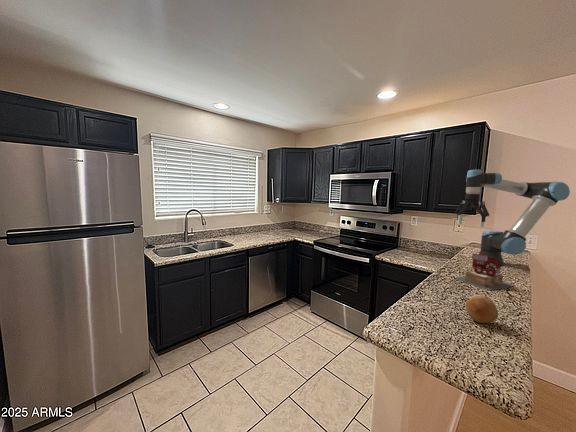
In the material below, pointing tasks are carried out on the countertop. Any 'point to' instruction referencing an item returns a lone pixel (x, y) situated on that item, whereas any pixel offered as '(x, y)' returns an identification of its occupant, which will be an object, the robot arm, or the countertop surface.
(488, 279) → the plinth
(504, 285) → the build mat
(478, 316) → the onion
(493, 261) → the toy fire truck
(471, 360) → the countertop surface
